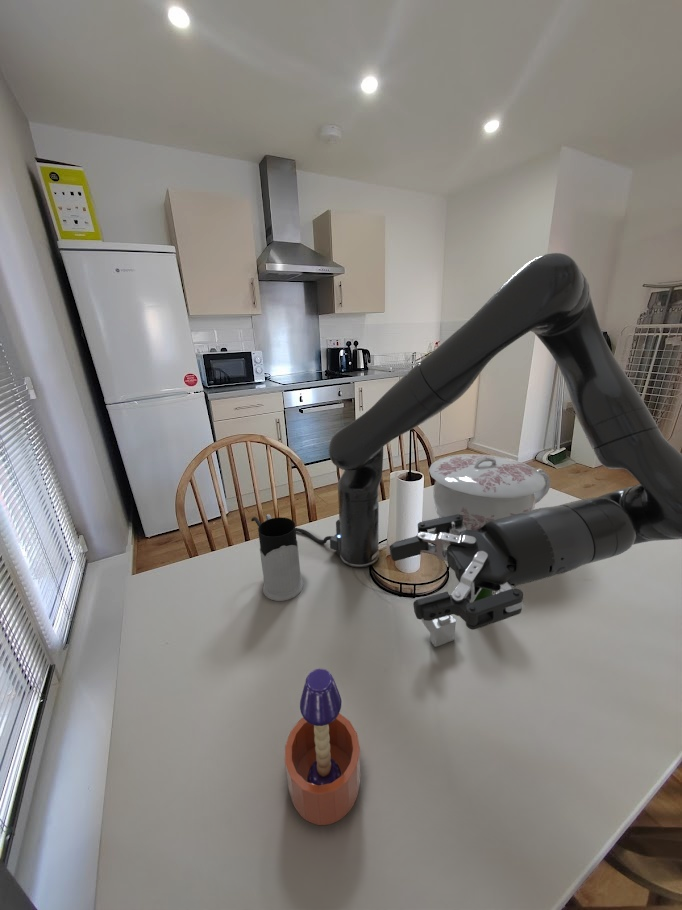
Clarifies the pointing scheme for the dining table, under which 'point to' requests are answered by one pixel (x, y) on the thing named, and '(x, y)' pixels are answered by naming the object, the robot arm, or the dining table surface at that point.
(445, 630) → the lighter
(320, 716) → the toy lamp
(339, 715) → the orange cylindrical pot
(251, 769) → the dining table surface
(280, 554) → the glass holder
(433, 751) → the dining table surface
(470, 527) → the chamber pot
